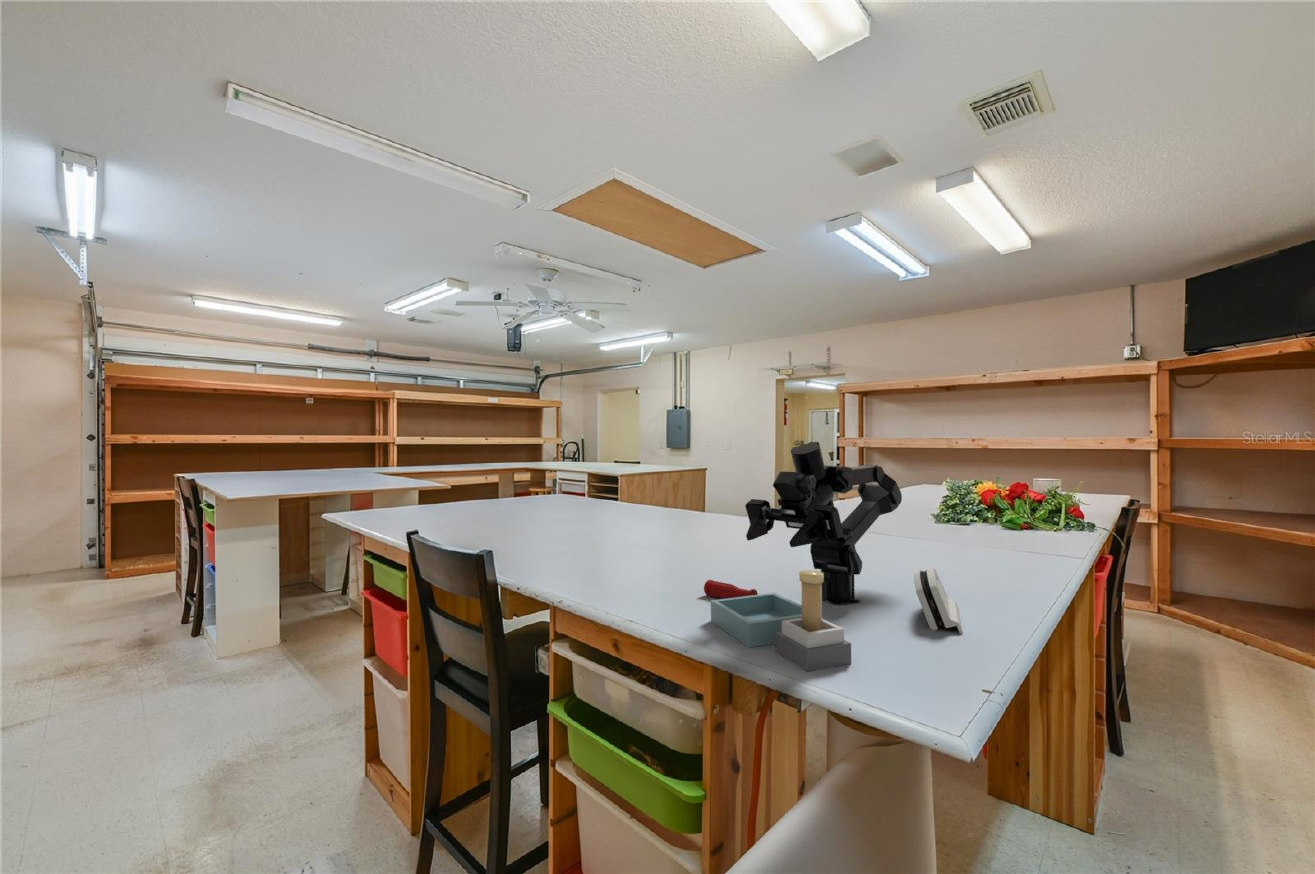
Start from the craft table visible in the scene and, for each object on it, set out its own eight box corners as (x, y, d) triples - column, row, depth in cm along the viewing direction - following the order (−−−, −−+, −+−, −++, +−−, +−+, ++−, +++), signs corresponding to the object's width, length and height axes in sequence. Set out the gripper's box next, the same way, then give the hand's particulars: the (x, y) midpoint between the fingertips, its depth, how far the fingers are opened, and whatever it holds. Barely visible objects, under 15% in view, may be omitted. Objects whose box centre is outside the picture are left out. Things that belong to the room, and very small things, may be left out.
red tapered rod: (810, 621, 97) (809, 602, 97) (702, 596, 114) (702, 580, 114) (818, 617, 100) (817, 598, 100) (711, 593, 116) (711, 577, 116)
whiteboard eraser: (963, 634, 90) (940, 577, 92) (934, 639, 92) (912, 583, 94) (958, 607, 105) (938, 559, 106) (933, 612, 107) (914, 564, 108)
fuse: (814, 632, 83) (813, 569, 83) (829, 640, 79) (828, 574, 80) (795, 635, 82) (794, 571, 82) (809, 643, 78) (809, 576, 78)
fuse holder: (817, 644, 86) (816, 614, 86) (851, 663, 78) (850, 629, 78) (775, 651, 83) (775, 620, 83) (807, 671, 75) (806, 637, 75)
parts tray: (774, 612, 103) (774, 592, 103) (820, 635, 89) (820, 613, 90) (711, 620, 98) (710, 600, 98) (749, 647, 85) (749, 624, 85)
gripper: (760, 463, 108) (716, 497, 98) (846, 464, 94) (805, 505, 84) (773, 510, 111) (731, 549, 101) (857, 518, 97) (819, 564, 87)
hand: (768, 541), depth 93 cm, fingers open, 9 cm apart
